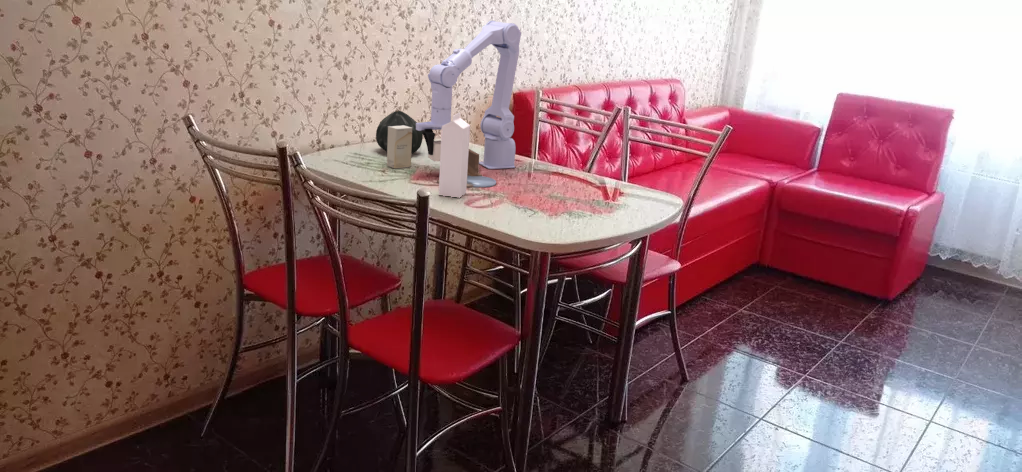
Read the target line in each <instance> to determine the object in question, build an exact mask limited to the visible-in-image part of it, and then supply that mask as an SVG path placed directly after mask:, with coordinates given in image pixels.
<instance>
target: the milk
mask: <svg viewBox="0 0 1022 472" xmlns="http://www.w3.org/2000/svg"><path fill="white" fill-rule="evenodd" d="M470 129H471V125H470V124H469V123H468V121H467V122H466V121H465V120H464V119H463V118H461V112H460V111H459V112H457V113H455V114H453V115H452V120H451V122H449V123H447V124H445V125H443V126H442V130H441V135H440V136H441V137H440V140H441V154H440V161H439V176H438V177H439V179H438V180H439V183H438V196H439V195H443V196H442V197H445V196H451V197H450V198H452V197H459V198H458V199H461V198H462V197H463V196H465V195H466V194H467V188H466V187H467V170H468V153H469V149H470V148H469V147H470V135H471V134H470V133H471V130H470ZM465 193H466V194H465ZM462 195H463V196H462ZM461 196H462V197H461ZM460 197H461V198H460Z"/></svg>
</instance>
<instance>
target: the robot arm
mask: <svg viewBox="0 0 1022 472" xmlns="http://www.w3.org/2000/svg"><path fill="white" fill-rule="evenodd" d="M521 37H522V32H521V29H519V26H518V25H517V24H516V23H513V22H503V21H496V20H489V21H488V22H486V24H485V25H483V26H482V27H481V31H480V32H479V33H478V34H477V35H476V36H475V37H474V38H473V39H472V40H471V41H470V42H469V43H468V44H467V45H466V46H465V47H464V48H455V49H453V50H452V54H450V55H449V56H448V57H447V58H446V59H443V60H442V62H441V63H439V64H434V65H433V66H432V67H431V68H430V70H429V72H428V74H427V78H428V81H429V83H430V89H431V105H430V106H431V108H430V109H431V113H430V121H424V122H417V123H416V130H418V131H422V134H423V139H424V141H425V144H426V148H427V155H428V154H429V155H433V144H434V141H435V138H436V133H435V132H434V131H436V130H437V131H438V130H441V131H442V126H443V125H445V124H447V123H449V122H451V121H452V102H453V101H452V100H453V98H452V97H453V86H455V85H456V83H457V82H458V78H459V77H460V75H461V74H462V73H464V71H465V70H466V69H468V67H471V65H472V61H473V60H472V59H473V58H474V57H475V56H477V55H478V54H479V53H480V52H482V51H483V50H485V49H486V48H487V47H488V46H490V45H492V46H493V47H494V48H495V49H496V50H497V52H498V53H499V56H500V57H499V61H498V67H497V72H496V73H497V74H496V78H495V84H494V90H493V94H492V95H493V96H492V102H491V105H490V106H489V107H487V109H485V111H484V114H483V117H482V119H481V121H480V131H481V133H482V134H483V137H484V146H483V147H484V149H483V161H479V165H481V166H482V167H485V168H486V169H488V170H494V169H495V170H497V169H515V168H516V165H515V160H516V158H515V157H516V142H515V140H514V138H512V136H513V134H514V132H515V125H514V121H515V115H514V114H513V112H512V111H511V110H510V105H511V99H512V94H513V87H514V83H515V77H516V73H517V72H516V71H517V65H518V61H519V55H520V43H521Z"/></svg>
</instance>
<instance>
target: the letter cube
mask: <svg viewBox="0 0 1022 472" xmlns="http://www.w3.org/2000/svg"><path fill="white" fill-rule="evenodd" d="M440 154H441V139H439V140H434V144H433V155H429V154H428V153H427V155H428V156H427V158H428V159H430V160H432V161H433V162H440Z"/></svg>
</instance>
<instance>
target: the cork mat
mask: <svg viewBox="0 0 1022 472" xmlns="http://www.w3.org/2000/svg"><path fill="white" fill-rule="evenodd" d="M468 182H469V181H468ZM436 183H437V184H439V179H438V180H436ZM470 183H471V182H470ZM473 185H474V184H468V183H467V187H466V189H468V188H470V189H471V188H474V187H473Z"/></svg>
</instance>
